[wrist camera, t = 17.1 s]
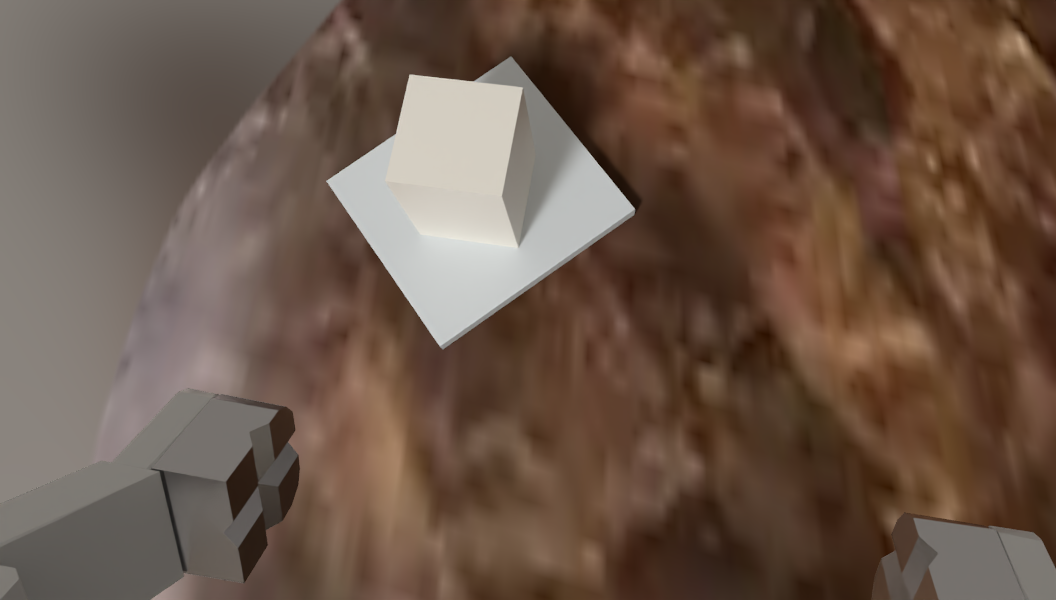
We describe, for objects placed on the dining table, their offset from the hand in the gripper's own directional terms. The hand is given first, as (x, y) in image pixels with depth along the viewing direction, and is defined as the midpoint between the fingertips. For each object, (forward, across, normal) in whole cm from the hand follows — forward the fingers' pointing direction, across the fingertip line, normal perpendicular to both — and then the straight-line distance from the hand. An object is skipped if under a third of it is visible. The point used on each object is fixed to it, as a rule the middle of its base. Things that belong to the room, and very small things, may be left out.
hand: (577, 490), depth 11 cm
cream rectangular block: (+33, +9, +10) cm, 36 cm away
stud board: (+33, +9, +11) cm, 36 cm away
